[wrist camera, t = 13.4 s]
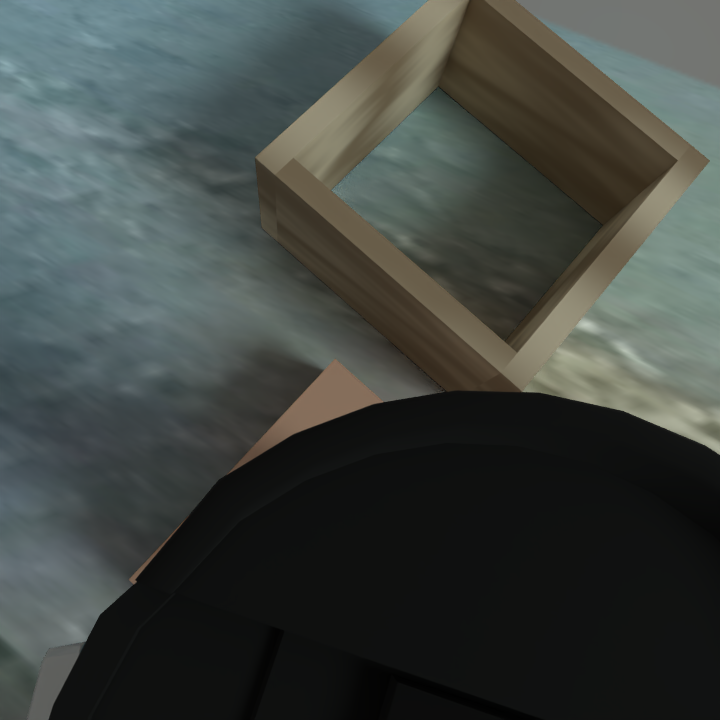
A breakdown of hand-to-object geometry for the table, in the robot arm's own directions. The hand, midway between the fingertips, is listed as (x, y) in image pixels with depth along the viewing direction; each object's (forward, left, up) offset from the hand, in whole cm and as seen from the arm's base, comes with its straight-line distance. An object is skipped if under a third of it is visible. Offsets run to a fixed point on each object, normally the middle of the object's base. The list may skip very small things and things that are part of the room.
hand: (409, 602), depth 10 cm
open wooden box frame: (+15, +5, -16) cm, 22 cm away
